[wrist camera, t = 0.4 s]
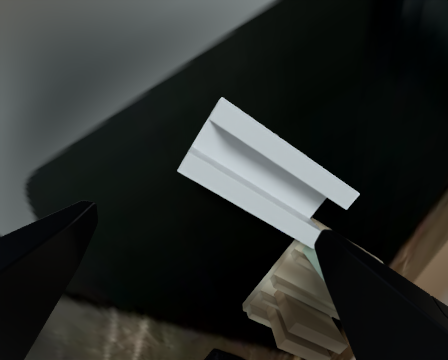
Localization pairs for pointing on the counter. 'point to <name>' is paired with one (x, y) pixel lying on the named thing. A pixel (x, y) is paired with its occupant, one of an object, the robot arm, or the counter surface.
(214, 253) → the counter surface
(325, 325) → the middle offcut
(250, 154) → the grey slotted stand
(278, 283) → the birch rack
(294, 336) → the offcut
